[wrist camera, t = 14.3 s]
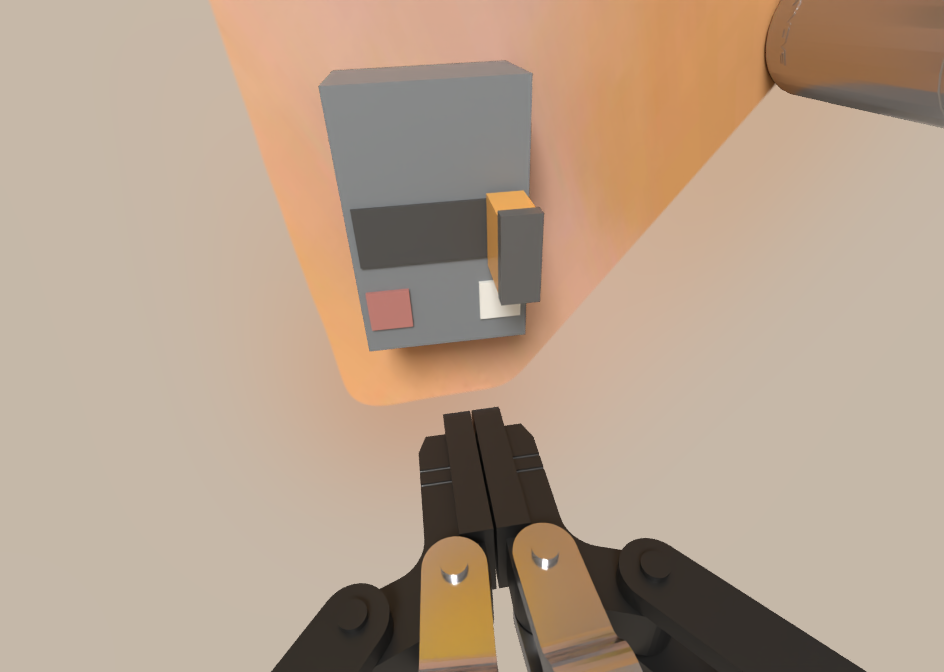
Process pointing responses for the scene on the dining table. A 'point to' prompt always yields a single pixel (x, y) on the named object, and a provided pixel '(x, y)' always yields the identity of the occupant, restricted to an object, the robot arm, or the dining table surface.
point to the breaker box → (427, 193)
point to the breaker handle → (514, 246)
